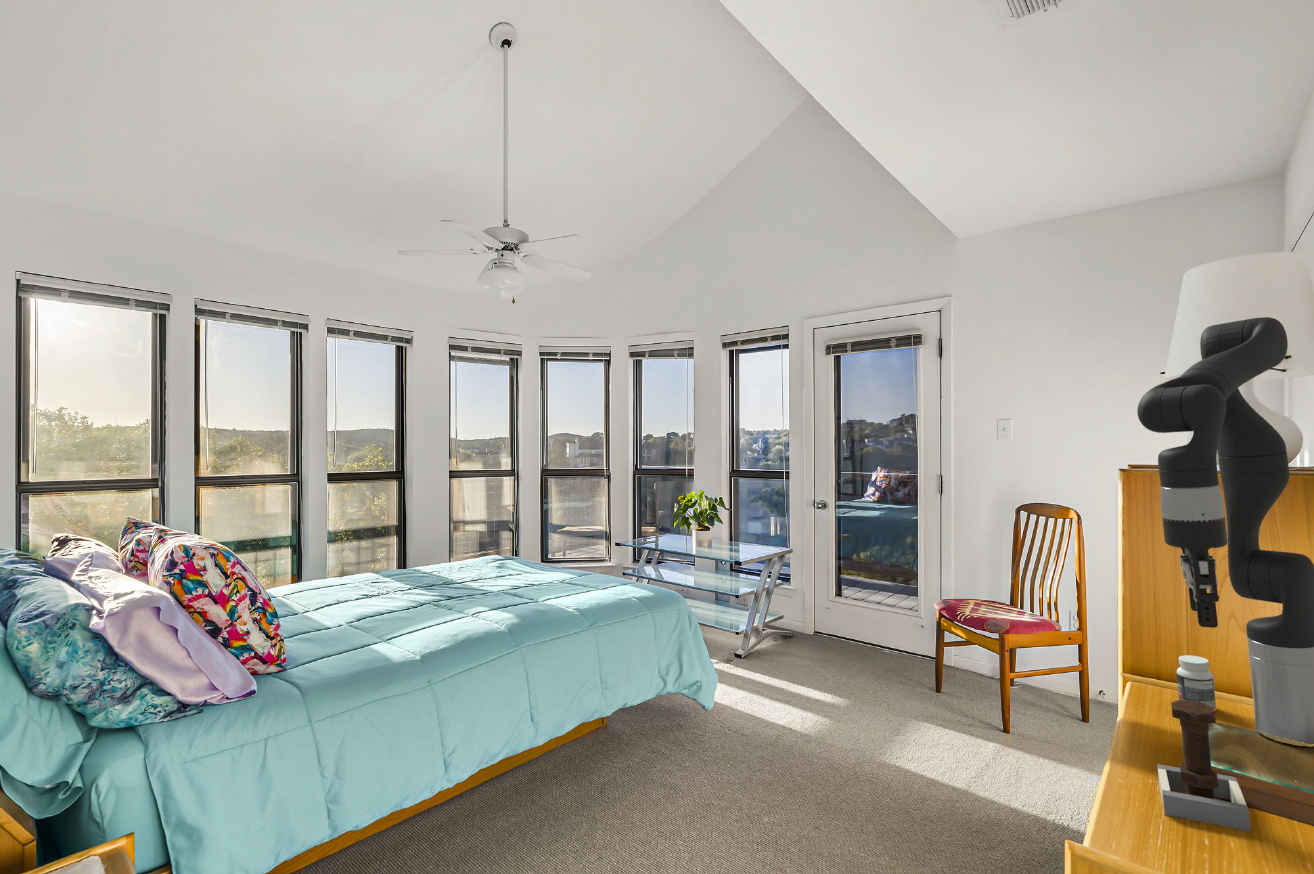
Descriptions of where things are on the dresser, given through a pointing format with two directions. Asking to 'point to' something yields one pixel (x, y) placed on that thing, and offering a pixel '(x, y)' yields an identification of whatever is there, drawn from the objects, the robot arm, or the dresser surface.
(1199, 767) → the bolt
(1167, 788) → the grey white square frame
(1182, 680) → the pill bottle
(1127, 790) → the dresser surface
